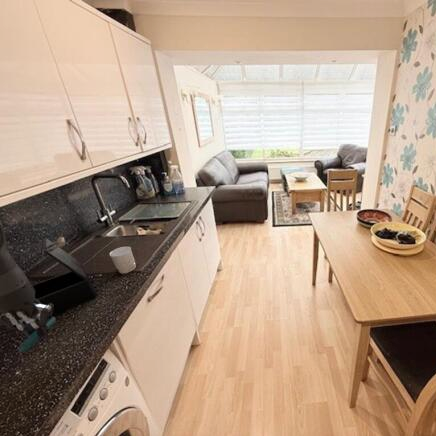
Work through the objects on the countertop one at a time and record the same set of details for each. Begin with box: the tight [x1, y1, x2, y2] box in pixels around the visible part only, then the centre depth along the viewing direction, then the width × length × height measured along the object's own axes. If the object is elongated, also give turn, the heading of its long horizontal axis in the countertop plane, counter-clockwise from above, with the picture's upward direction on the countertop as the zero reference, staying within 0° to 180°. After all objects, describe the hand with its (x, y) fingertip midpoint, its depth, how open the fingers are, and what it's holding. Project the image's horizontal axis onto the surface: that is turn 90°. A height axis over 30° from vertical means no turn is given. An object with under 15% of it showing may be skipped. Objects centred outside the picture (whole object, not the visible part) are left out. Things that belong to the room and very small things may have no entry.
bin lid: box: [43, 236, 87, 280], centre depth 89 cm, size 16×13×5 cm
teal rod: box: [18, 316, 57, 353], centre depth 65 cm, size 10×2×2 cm, turn 6°
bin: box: [31, 270, 96, 317], centre depth 90 cm, size 16×13×9 cm
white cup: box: [109, 246, 137, 274], centre depth 107 cm, size 8×8×10 cm
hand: (40, 335), depth 65 cm, fingers closed on teal rod, 2 cm apart
